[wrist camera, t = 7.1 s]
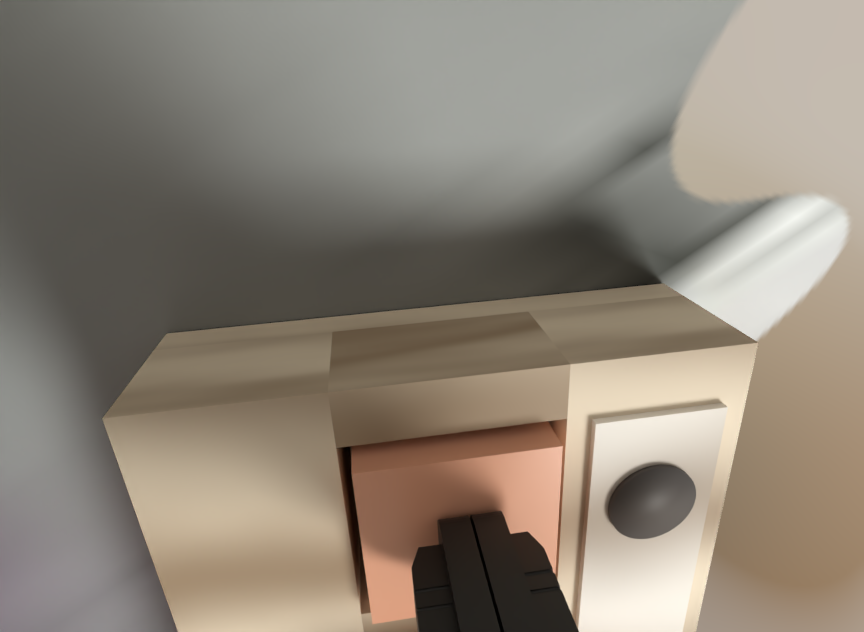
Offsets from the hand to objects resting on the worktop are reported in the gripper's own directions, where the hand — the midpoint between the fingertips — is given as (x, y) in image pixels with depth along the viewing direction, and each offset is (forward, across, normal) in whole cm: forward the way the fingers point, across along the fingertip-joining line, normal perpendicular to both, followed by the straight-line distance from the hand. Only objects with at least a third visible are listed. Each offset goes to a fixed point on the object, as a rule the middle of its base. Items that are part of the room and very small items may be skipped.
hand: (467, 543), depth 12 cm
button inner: (+3, 0, 0) cm, 3 cm away
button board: (+5, 0, +7) cm, 8 cm away
